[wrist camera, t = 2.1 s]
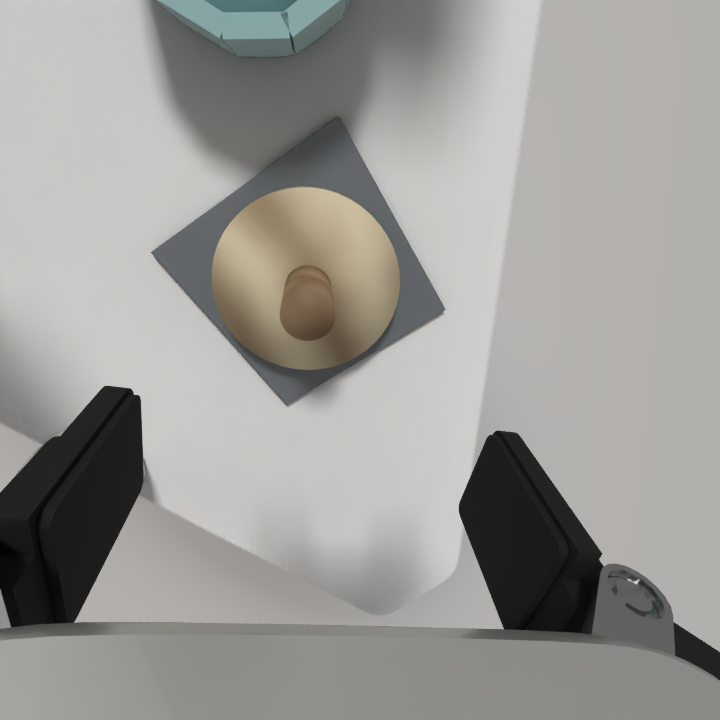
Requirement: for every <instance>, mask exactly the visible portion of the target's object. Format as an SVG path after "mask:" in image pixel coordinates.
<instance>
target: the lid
mask: <svg viewBox="0 0 720 720" xmlns="http://www.w3.org/2000/svg"><path fill="white" fill-rule="evenodd" d="M212 289H213V295H214V299H215V302H216V306H217V308H218V311H219V313H220V315H221V318H222V319H223V321H224V323H225V324H226V326H227V328H228V329H229V330H230V332H231V333H232V334H233V335H234V337H235V338H236V339H237V340H238V341H239V342H240V343H241V344H242V345H243V346H245V347H246V348H247V349H248V350H250V351H251V352H252V353H254V354H256V355H257V356H259V357H261V358H262V359H264V360H267V361H269V362H271V363H274V364H277V365H280V366H283V367H287V368H292V369H301V370H317V369H324V368H329V367H333V366H337V365H340V364H343V363H345V362H348V361H350V360H352V359H353V358H355V357H357V356H359V355H360V354H362V353H363V352H365V351H366V350H367V349H368V348H369V347H371V346H372V345H373V344H374V343H375V342H376V341H377V340H378V339H379V337H380V336H381V335H382V334H383V332H384V331H385V329H386V328H387V326H388V325H389V323H390V321H391V319H392V317H393V315H394V312H395V309H396V306H397V302H398V297H399V290H400V272H399V266H398V261H397V257H396V254H395V251H394V248H393V246H392V244H391V242H390V240H389V238H388V236H387V234H386V233H385V231H384V230H383V228H382V227H381V225H380V224H379V223H378V222H377V221H376V220H375V219H374V217H373V216H372V215H371V214H370V213H369V212H368V211H367V210H365V209H364V208H363V207H362V206H361V205H359V204H358V203H356V202H355V201H353V200H352V199H350V198H348V197H346V196H344V195H342V194H340V193H337V192H334V191H331V190H328V189H324V188H318V187H308V186H297V187H289V188H284V189H280V190H276V191H273V192H270V193H268V194H266V195H263V196H261V197H260V198H258V199H256V200H255V201H253V202H252V203H250V204H249V205H248V206H247V207H245V208H244V209H243V210H242V211H241V212H240V213H239V214H238V215H237V216H236V217H235V218H234V219H233V220H232V221H231V222H230V224H229V225H228V227H227V228H226V230H225V231H224V233H223V234H222V236H221V238H220V241H219V243H218V245H217V248H216V251H215V254H214V258H213V264H212Z"/></svg>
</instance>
